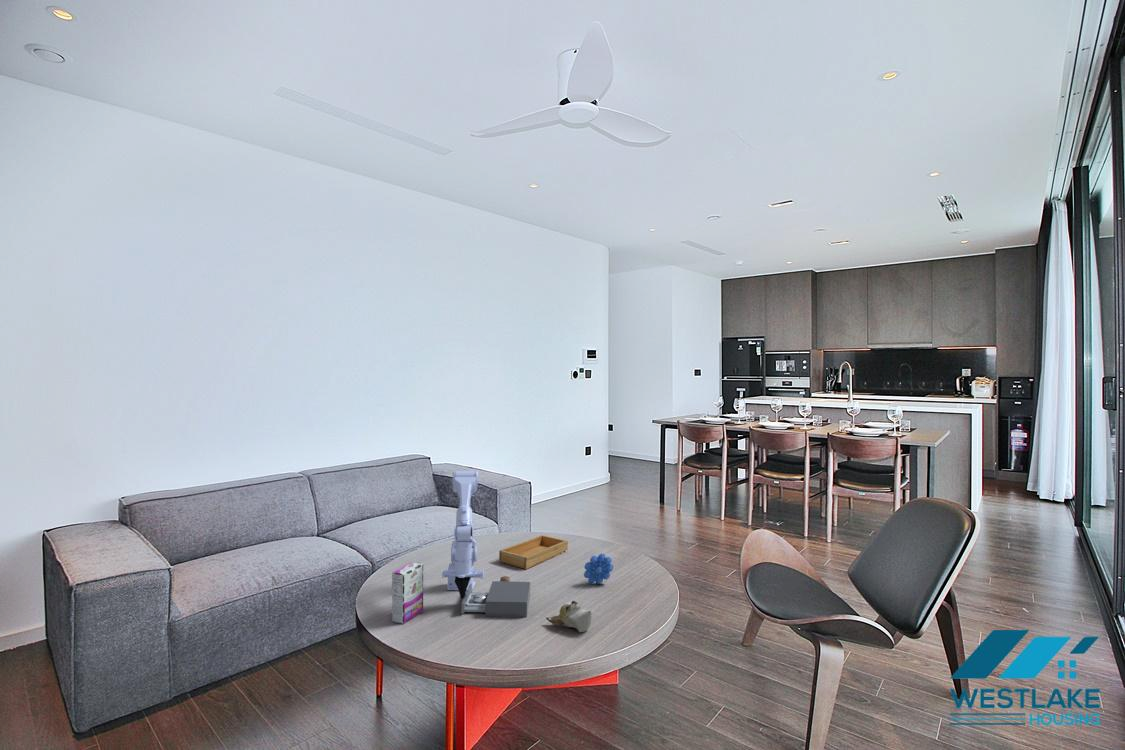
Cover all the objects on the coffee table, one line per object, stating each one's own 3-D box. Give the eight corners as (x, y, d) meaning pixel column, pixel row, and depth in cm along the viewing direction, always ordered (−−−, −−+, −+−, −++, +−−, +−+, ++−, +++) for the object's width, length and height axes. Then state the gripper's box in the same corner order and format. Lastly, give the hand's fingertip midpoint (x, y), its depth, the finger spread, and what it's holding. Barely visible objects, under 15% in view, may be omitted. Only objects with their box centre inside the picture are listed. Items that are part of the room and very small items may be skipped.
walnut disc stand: (496, 591, 205) (496, 580, 205) (497, 585, 211) (498, 574, 211) (511, 591, 205) (512, 581, 205) (513, 585, 211) (513, 575, 211)
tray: (541, 545, 262) (541, 534, 262) (567, 552, 253) (567, 539, 253) (498, 563, 237) (499, 550, 237) (526, 571, 228) (526, 557, 228)
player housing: (485, 616, 184) (485, 601, 184) (492, 594, 202) (492, 581, 202) (526, 617, 184) (527, 602, 184) (530, 595, 202) (530, 581, 202)
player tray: (461, 613, 184) (461, 603, 184) (470, 593, 202) (470, 583, 202) (500, 614, 184) (500, 604, 184) (506, 593, 202) (506, 584, 202)
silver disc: (487, 604, 190) (487, 599, 190) (471, 604, 190) (471, 598, 190) (489, 597, 196) (489, 592, 196) (474, 597, 196) (474, 592, 196)
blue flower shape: (611, 579, 219) (611, 549, 219) (614, 586, 212) (614, 555, 212) (582, 580, 218) (582, 550, 218) (584, 586, 211) (584, 555, 211)
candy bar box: (411, 608, 189) (412, 561, 189) (423, 610, 188) (424, 563, 188) (390, 622, 179) (391, 572, 179) (403, 624, 177) (404, 574, 177)
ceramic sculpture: (580, 611, 169) (544, 600, 179) (581, 639, 169) (544, 627, 178) (600, 600, 177) (564, 591, 187) (601, 627, 177) (565, 617, 187)
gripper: (440, 562, 189) (439, 601, 189) (482, 563, 189) (481, 602, 189) (444, 556, 196) (444, 593, 196) (485, 556, 196) (484, 594, 196)
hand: (462, 597), depth 193 cm, fingers closed
